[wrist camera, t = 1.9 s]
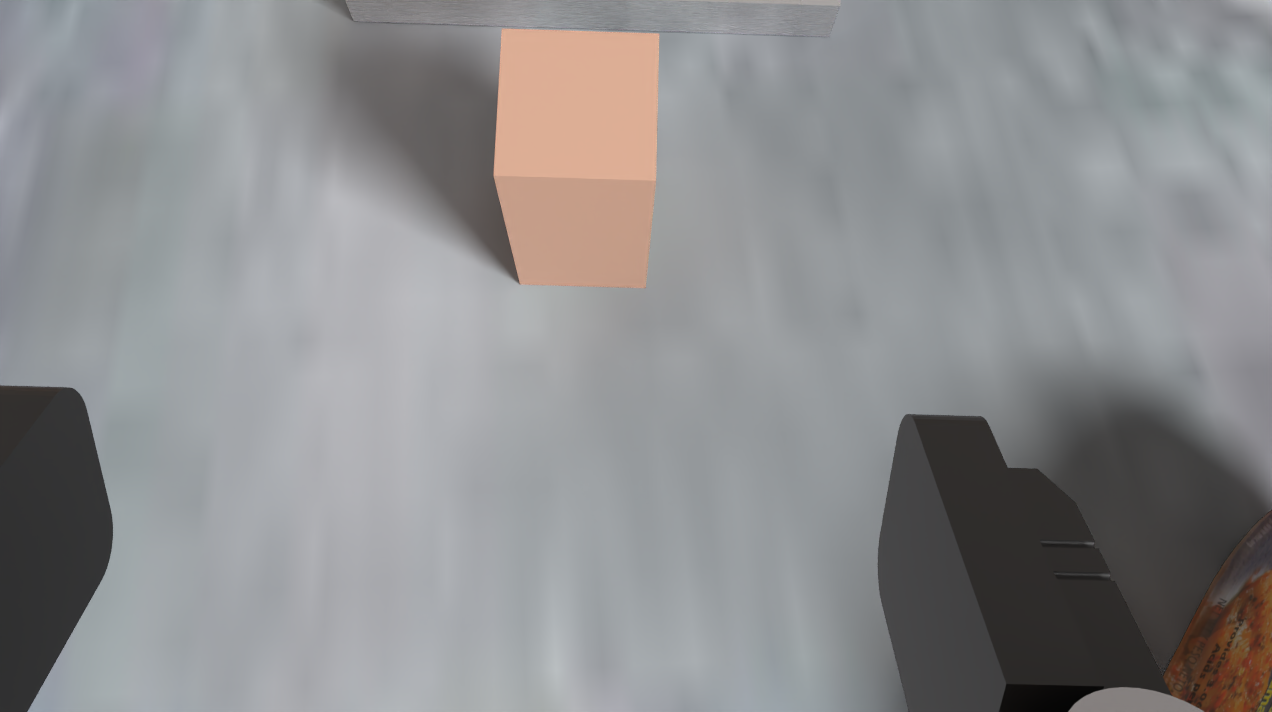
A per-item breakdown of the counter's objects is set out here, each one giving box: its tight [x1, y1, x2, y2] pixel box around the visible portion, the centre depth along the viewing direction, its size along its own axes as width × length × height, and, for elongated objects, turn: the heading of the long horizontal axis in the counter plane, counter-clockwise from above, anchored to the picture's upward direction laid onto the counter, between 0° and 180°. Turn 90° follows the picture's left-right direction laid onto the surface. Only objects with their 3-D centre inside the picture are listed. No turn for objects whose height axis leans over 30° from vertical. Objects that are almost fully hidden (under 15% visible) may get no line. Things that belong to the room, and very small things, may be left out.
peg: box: [494, 29, 659, 288], centre depth 35 cm, size 4×4×9 cm
